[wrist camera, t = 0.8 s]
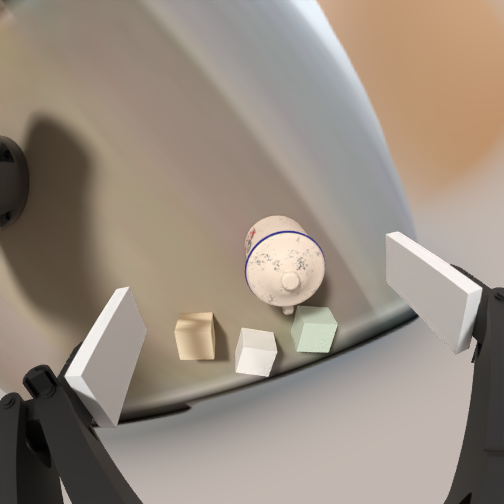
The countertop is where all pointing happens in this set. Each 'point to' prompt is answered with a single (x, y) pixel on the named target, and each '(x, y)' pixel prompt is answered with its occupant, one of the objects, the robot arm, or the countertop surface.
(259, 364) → the white painted cube
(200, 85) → the countertop surface
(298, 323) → the sage painted cube
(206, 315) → the maple cube
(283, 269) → the teacup with lid
